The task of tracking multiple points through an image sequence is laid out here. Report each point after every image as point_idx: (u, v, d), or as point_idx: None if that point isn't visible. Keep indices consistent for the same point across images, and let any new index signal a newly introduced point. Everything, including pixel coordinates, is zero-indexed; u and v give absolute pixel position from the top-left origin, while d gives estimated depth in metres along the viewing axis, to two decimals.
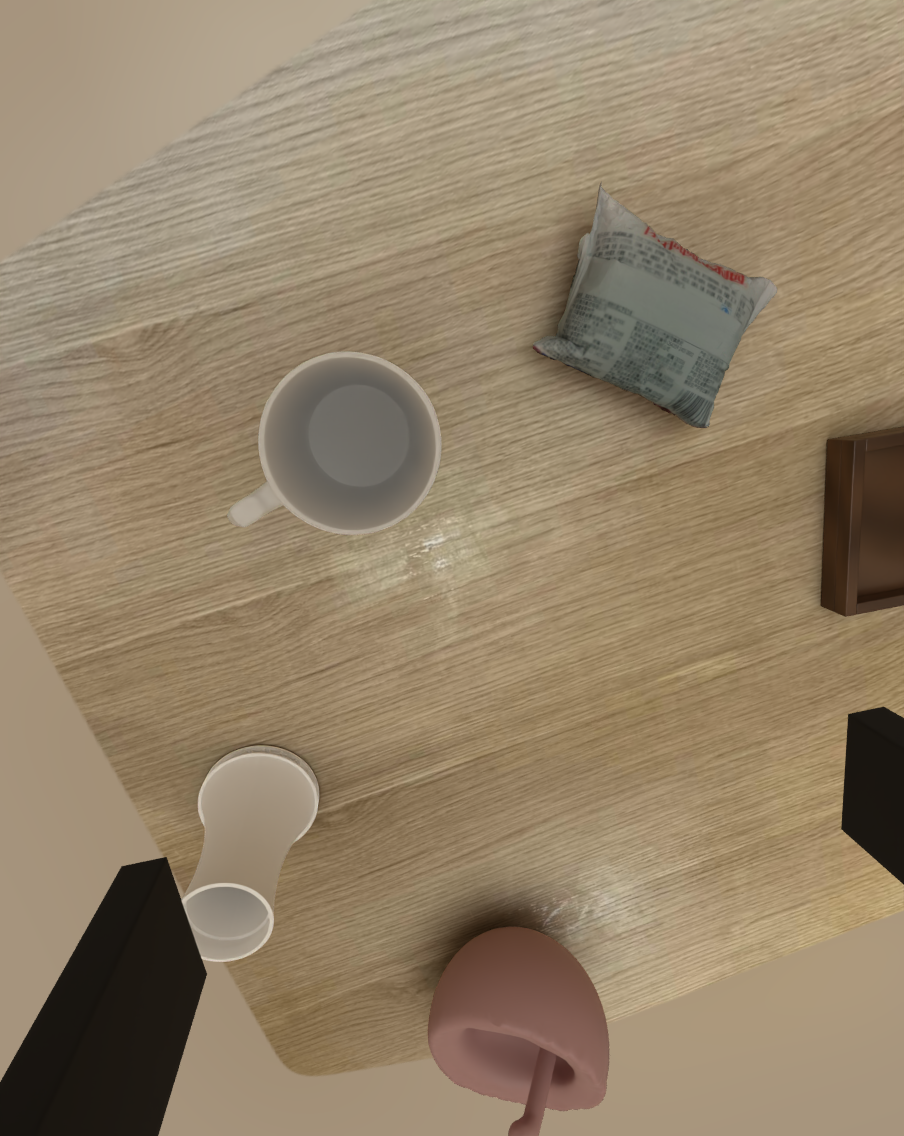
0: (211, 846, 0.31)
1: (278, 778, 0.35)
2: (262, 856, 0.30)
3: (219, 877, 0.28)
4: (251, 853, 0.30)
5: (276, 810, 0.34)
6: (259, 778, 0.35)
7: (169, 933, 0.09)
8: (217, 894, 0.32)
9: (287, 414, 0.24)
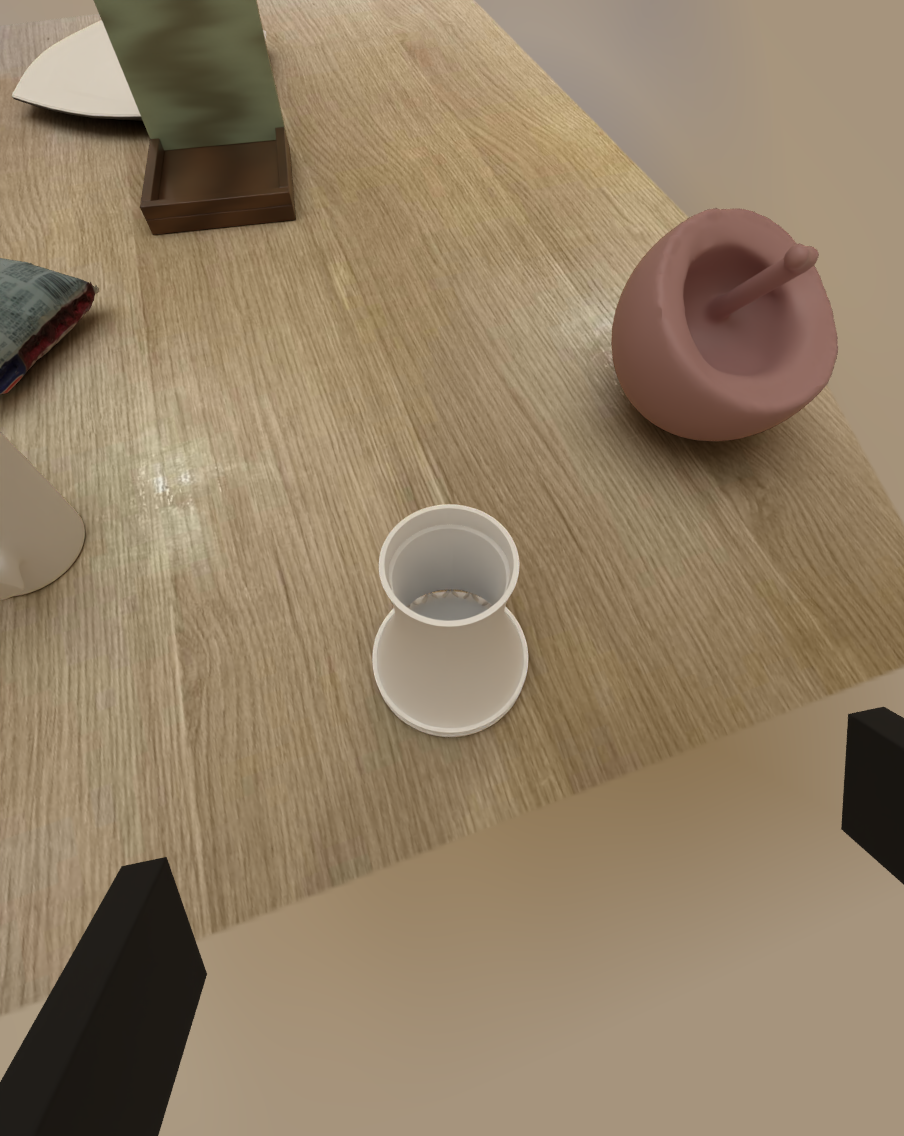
0: (405, 635, 0.22)
1: None
2: None
3: None
4: None
5: None
6: (387, 633, 0.26)
7: (169, 933, 0.09)
8: None
9: None
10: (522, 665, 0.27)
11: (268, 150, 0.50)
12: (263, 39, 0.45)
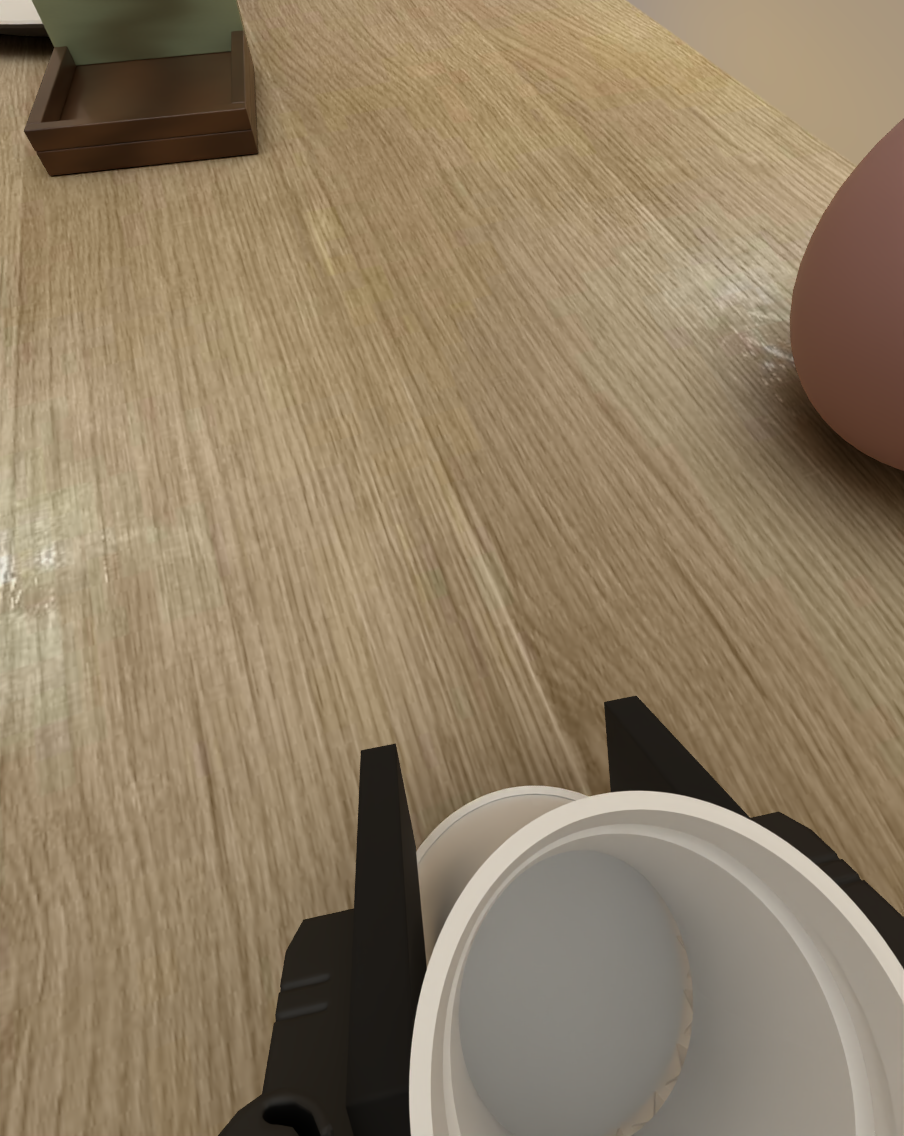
0: None
1: (428, 885, 0.13)
2: None
3: None
4: None
5: (465, 875, 0.11)
6: None
7: (404, 801, 0.12)
8: (729, 1127, 0.07)
9: None
10: None
11: (221, 63, 0.36)
12: None
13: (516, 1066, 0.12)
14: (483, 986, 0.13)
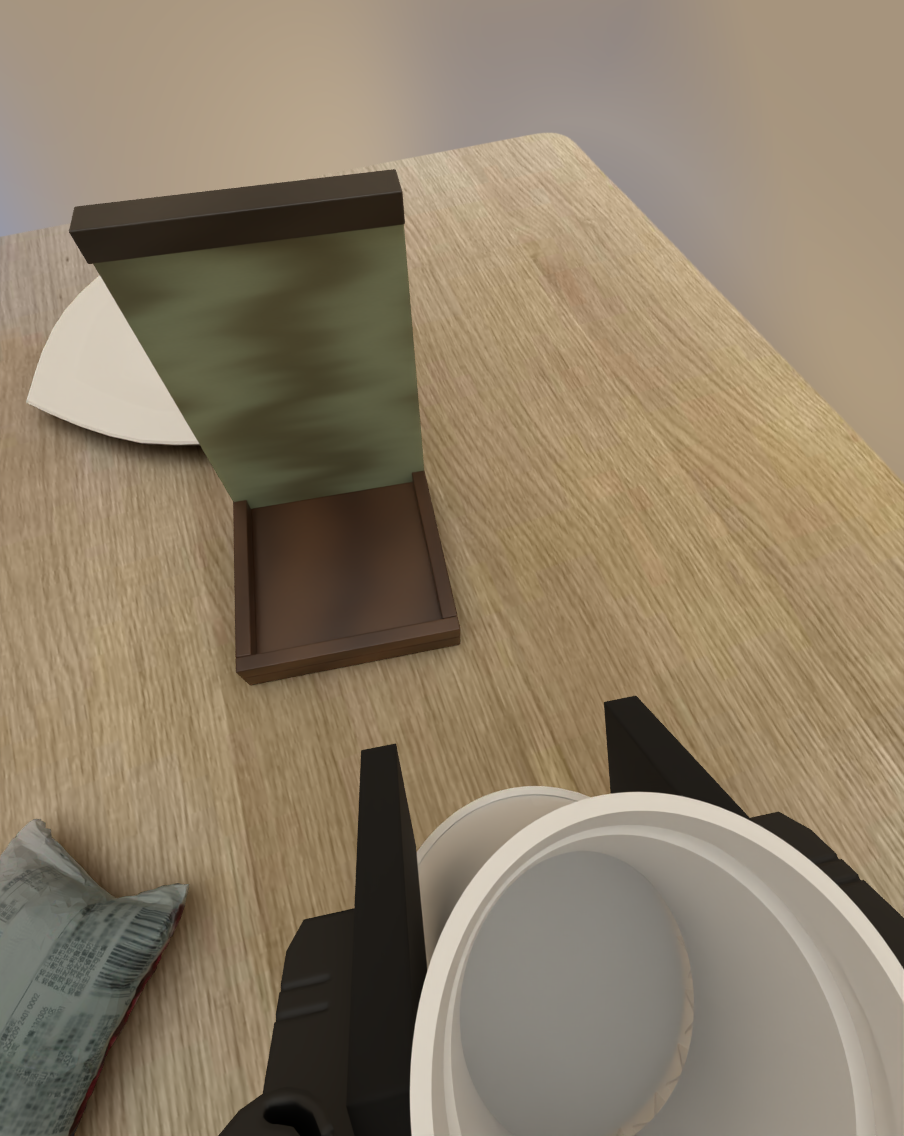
0: None
1: (429, 885, 0.13)
2: None
3: None
4: None
5: (465, 875, 0.11)
6: None
7: (405, 801, 0.12)
8: (729, 1128, 0.07)
9: None
10: None
11: (402, 506, 0.35)
12: (417, 397, 0.29)
13: (517, 1066, 0.12)
14: (484, 986, 0.13)
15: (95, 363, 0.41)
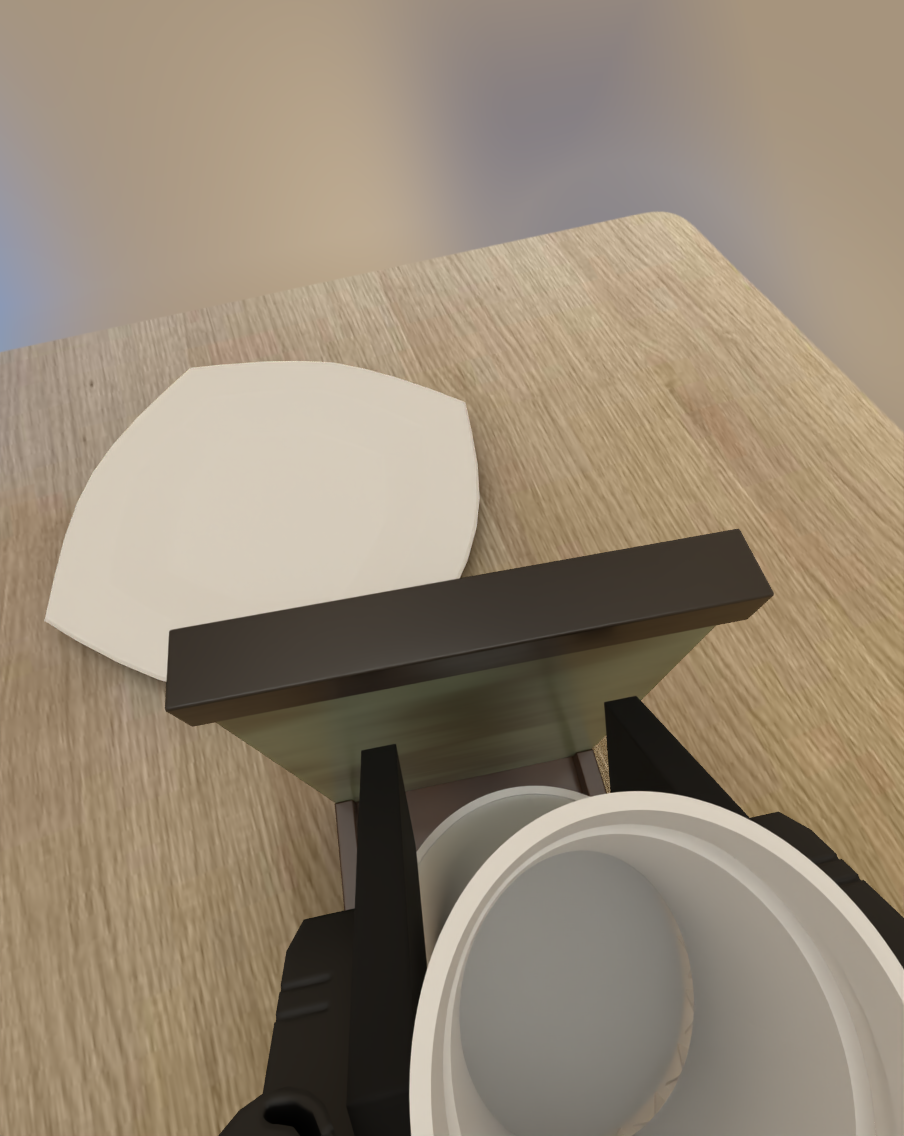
0: None
1: (429, 885, 0.13)
2: None
3: None
4: None
5: (465, 875, 0.11)
6: None
7: (405, 801, 0.12)
8: (729, 1127, 0.07)
9: None
10: None
11: None
12: None
13: (517, 1065, 0.12)
14: (484, 986, 0.13)
15: (134, 555, 0.31)
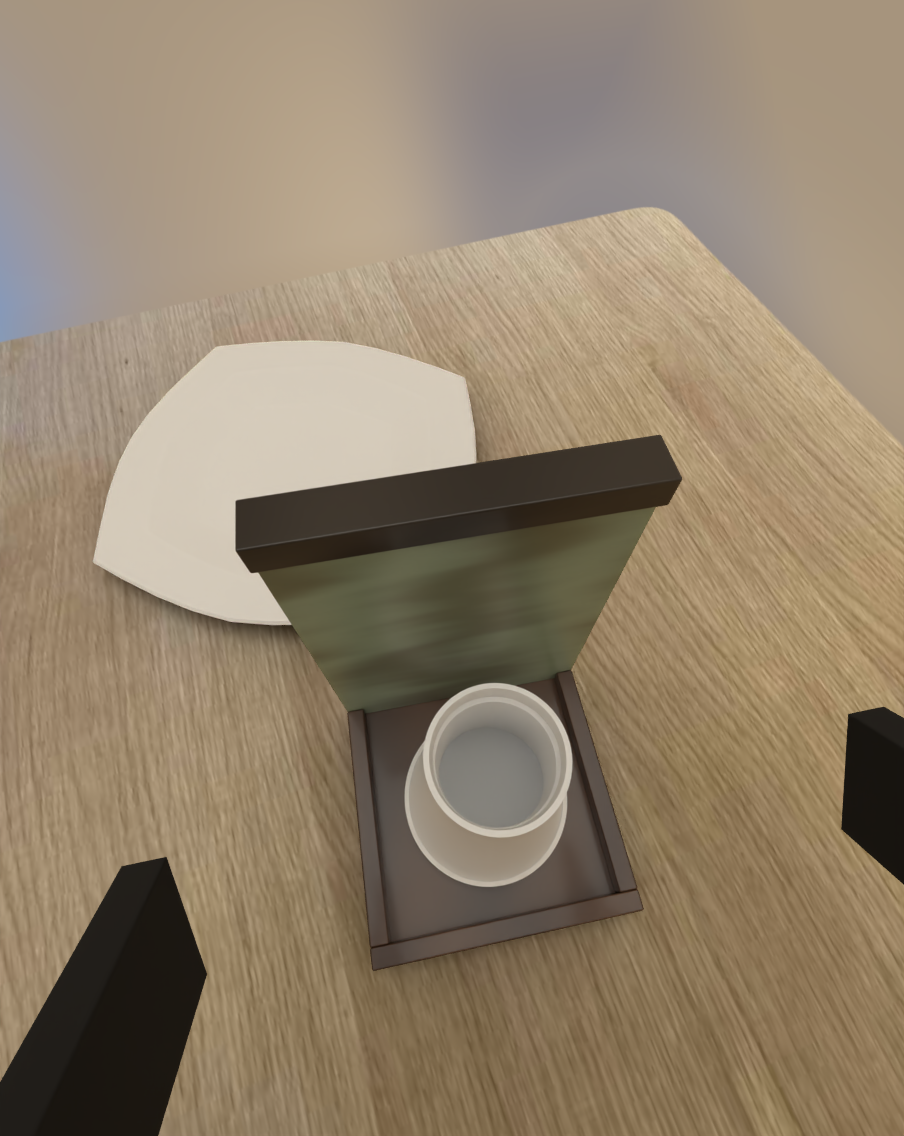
0: None
1: None
2: None
3: None
4: None
5: None
6: (421, 778, 0.25)
7: (169, 933, 0.09)
8: None
9: None
10: (561, 807, 0.26)
11: None
12: (594, 623, 0.24)
13: None
14: (454, 804, 0.26)
15: (169, 508, 0.35)
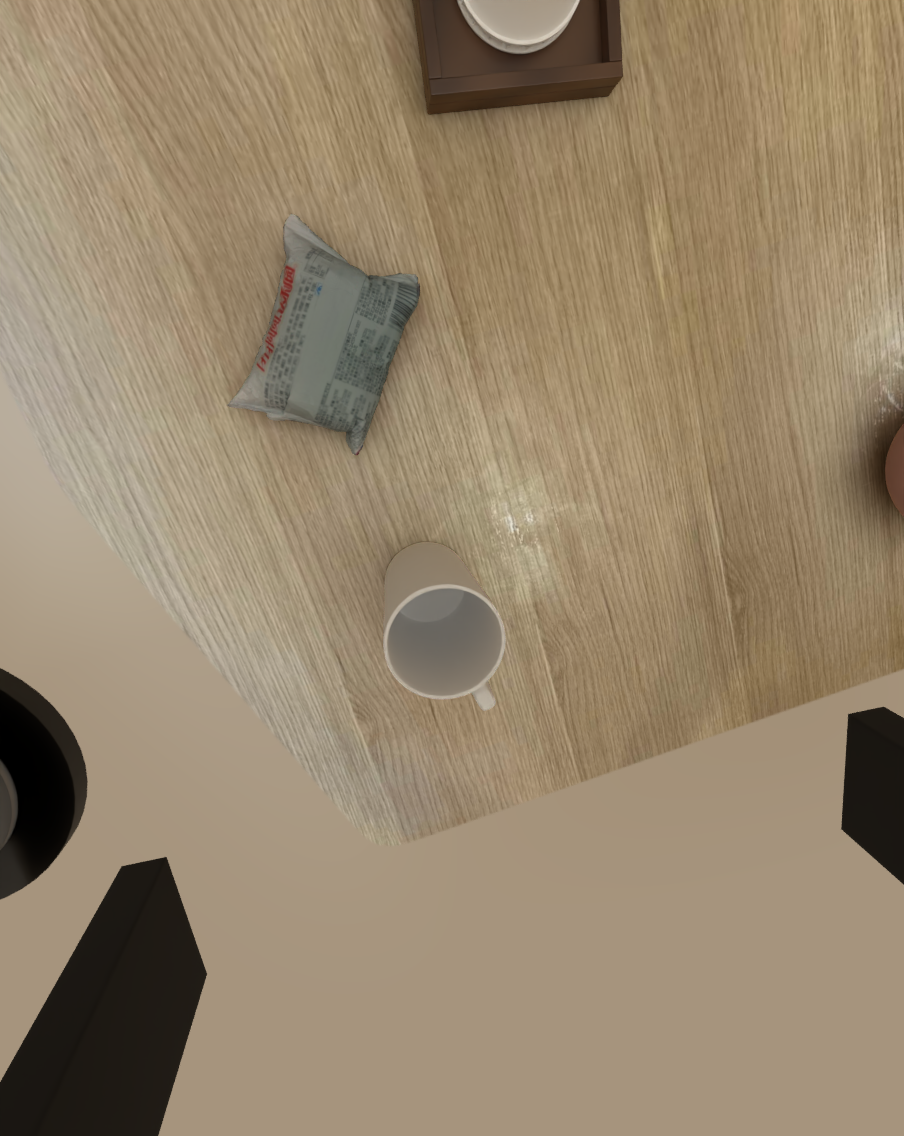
0: None
1: None
2: None
3: None
4: None
5: None
6: None
7: (169, 933, 0.09)
8: None
9: (418, 662, 0.35)
10: None
11: None
12: None
13: None
14: None
15: None
